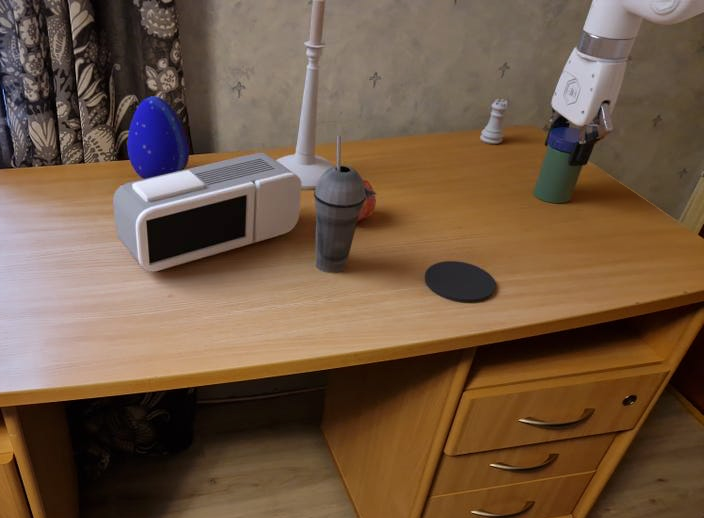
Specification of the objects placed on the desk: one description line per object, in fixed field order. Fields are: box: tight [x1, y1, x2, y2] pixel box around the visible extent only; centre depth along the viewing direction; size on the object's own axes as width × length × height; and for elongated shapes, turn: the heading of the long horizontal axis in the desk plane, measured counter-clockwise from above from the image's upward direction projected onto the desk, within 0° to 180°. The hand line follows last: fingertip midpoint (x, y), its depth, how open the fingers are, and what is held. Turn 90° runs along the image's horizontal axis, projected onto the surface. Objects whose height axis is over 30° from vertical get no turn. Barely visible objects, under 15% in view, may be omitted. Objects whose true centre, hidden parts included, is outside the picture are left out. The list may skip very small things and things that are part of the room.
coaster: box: [424, 260, 497, 304], centre depth 99 cm, size 10×10×1 cm
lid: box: [547, 126, 591, 153], centre depth 114 cm, size 7×7×2 cm
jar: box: [532, 144, 584, 204], centre depth 117 cm, size 6×6×10 cm
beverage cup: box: [313, 133, 366, 274], centre depth 96 cm, size 7×7×20 cm
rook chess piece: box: [479, 98, 509, 145], centre depth 136 cm, size 4×4×8 cm
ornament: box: [126, 95, 190, 180], centre depth 119 cm, size 11×9×15 cm
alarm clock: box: [112, 152, 302, 272], centre depth 103 cm, size 27×9×12 cm, turn 119°
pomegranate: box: [357, 179, 378, 222], centre depth 112 cm, size 7×7×10 cm
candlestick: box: [275, 0, 336, 191], centre depth 117 cm, size 13×13×30 cm
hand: (564, 154), depth 116 cm, fingers closed on lid, 6 cm apart
